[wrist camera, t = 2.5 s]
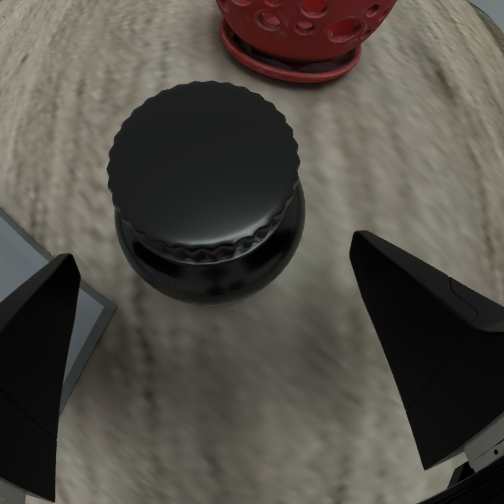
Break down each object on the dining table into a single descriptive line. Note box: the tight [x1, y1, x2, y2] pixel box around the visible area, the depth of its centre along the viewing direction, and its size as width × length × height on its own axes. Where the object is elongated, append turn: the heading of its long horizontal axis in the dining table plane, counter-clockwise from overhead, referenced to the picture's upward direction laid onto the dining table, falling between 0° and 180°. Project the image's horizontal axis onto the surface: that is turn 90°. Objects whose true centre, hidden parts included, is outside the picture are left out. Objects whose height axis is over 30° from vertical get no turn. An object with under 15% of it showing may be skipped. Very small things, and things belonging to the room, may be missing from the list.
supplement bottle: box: [107, 81, 305, 307], centre depth 13 cm, size 7×7×12 cm
